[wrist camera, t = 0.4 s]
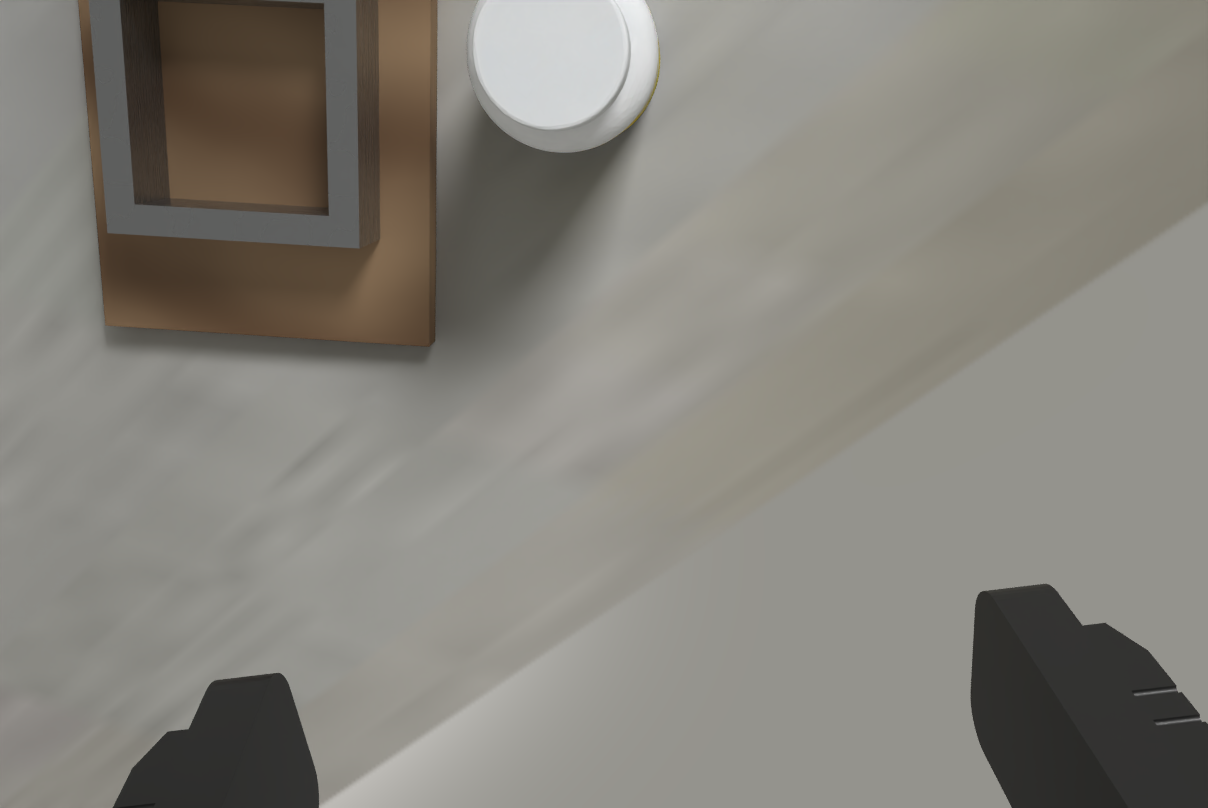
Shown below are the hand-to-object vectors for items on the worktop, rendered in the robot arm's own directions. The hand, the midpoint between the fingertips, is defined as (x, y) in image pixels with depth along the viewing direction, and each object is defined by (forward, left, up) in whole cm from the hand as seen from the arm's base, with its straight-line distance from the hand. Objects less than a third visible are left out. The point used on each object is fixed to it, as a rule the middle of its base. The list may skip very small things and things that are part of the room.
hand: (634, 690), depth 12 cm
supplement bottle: (-8, -3, -26) cm, 28 cm away
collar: (-6, -14, -25) cm, 30 cm away
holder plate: (-6, -14, -26) cm, 30 cm away
